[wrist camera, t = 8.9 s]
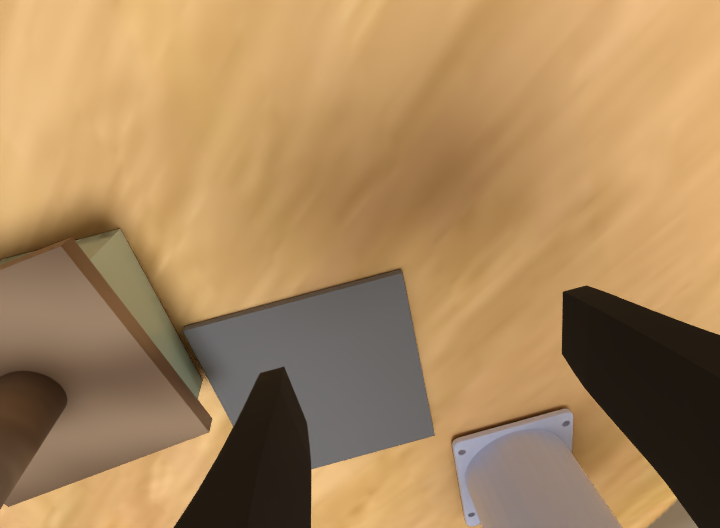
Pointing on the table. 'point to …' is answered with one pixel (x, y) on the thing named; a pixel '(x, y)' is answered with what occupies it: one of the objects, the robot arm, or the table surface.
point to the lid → (79, 378)
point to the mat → (327, 364)
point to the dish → (137, 298)
